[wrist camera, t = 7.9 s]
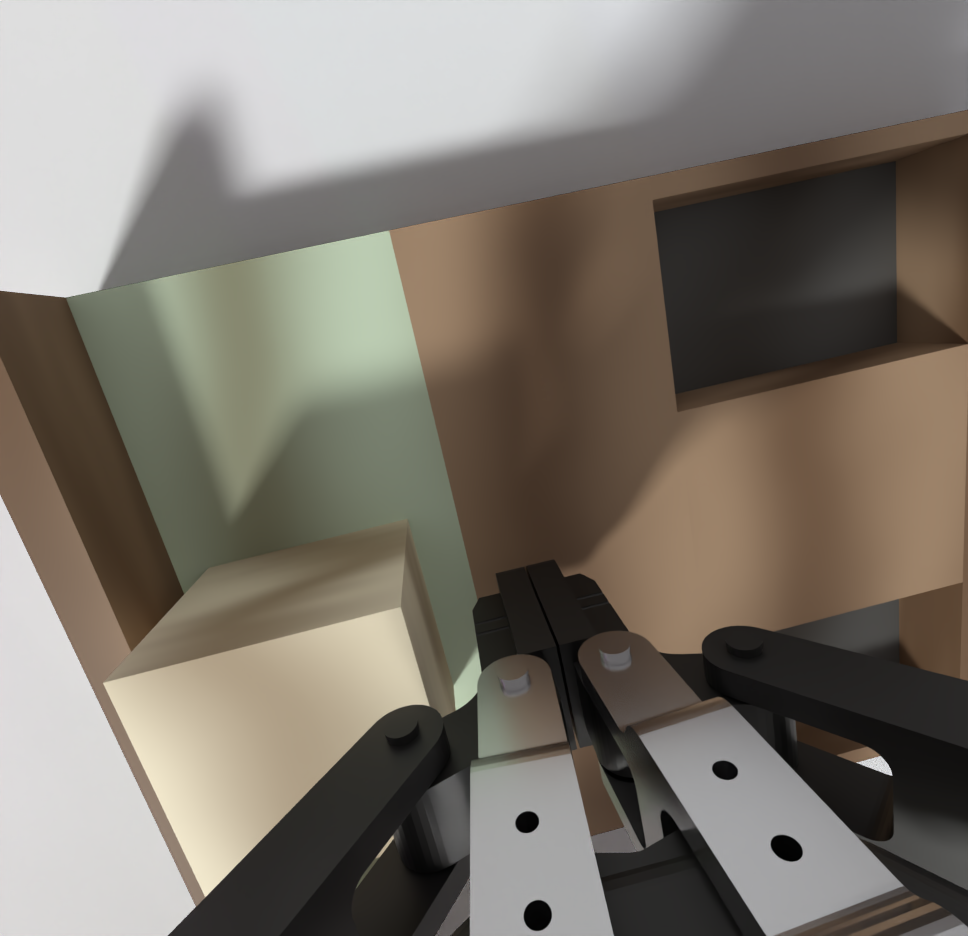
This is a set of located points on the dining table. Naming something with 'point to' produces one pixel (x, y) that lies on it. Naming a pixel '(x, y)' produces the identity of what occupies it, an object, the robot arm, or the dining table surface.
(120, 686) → the block
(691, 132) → the dining table surface
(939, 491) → the board
